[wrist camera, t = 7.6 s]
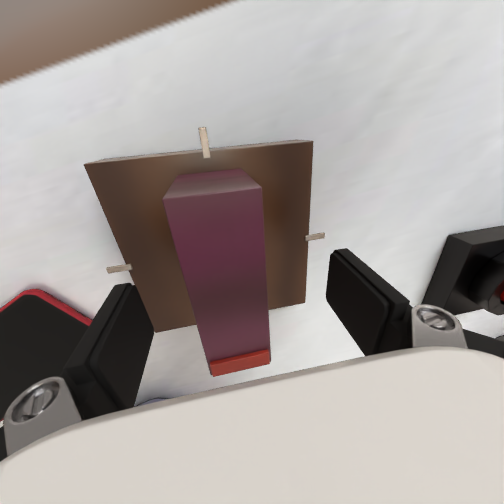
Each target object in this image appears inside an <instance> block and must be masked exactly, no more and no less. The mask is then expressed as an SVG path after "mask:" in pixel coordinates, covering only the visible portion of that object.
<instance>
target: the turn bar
mask: <svg viewBox="0 0 504 504" xmlns="http://www.w3.org/2000/svg"><path fill="white" fill-rule="evenodd" d="M162 202H163V206H164V209H165V213H166V216H167V220H168V224H169V227H170V231H171V234H172V238H173V241H174V245H175V249H176V252H177V256H178V259H179V263H180V267H181V270H182V274H183V277H184V281H185V284H186V288H187V292H188V295H189V299H190V302H191V306H192V309H193V313H194V317H195V320H196V324H197V327H198V331H199V335H200V338H201V342H202V345H203V349H204V352H205V356H206V360H207V363H208V367H209V370H210V374H211V375H213V377H215V376H219V375H224V374H228V373H232V372H237V371H241V370H245V369H249V368H254V367H258V366H262V365H267V364H270V362H271V350H270V331H269V313H268V294H267V275H266V256H265V238H264V219H263V200H262V187H261V186H260V185H259V184H258V183H256V182H255V181H254V180H253V179H252V178H251V177H250V176H249V175H248V174H247V173H246V172H244V171H243V170H242V169H241V168H240V169H231V170H222V171H212V172H203V173H194V174H185V175H178V176H177V177H176V178H175V180H174V182H173V183H172V185H171V186H170V188H169V189H168V191H167V192H166V194H165V196H164V197H163V199H162Z"/></svg>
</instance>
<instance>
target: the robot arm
mask: <svg viewBox="0 0 504 504" xmlns="http://www.w3.org/2000/svg"><path fill="white" fill-rule="evenodd" d="M326 299H327V302H328V303H329V305H330V306H331V308H332V309H333V311H334V312H335V313H336V315H337V316H338V318H339V319H340V321H341V322H342V323H343V325H344V326H345V328H346V329H347V331H348V332H349V333H350V335H351V336H352V338H353V339H354V341H355V342H356V343H357V345H358V346H359V348H360V349H361V351H362V352H363V353H364V355H365V357H360V358H355V359H350V360H346V361H341V362H336V363H332V364H327V365H322V366H317V367H313V368H308V369H303V370H299V371H294V372H290V373H285V374H280V375H276V376H271V377H267V378H262V379H257V380H253V381H248V382H244V383H239V384H235V385H230V386H225V387H221V388H216V389H212V390H208V391H203V392H199V393H194V394H190V395H185V396H181V397H176V398H172V399H167V400H163V401H158V402H154V403H150V404H146V405H142V406H138V407H134V404H135V400H136V397H137V393H138V389H139V386H140V382H141V379H142V375H143V371H144V368H145V364H146V361H147V357H148V353H149V350H150V346H151V343H152V339H153V335H154V327H153V325H152V322H151V320H150V318H149V315H148V313H147V311H146V308H145V306H144V304H143V301H142V299H141V296H140V294H139V292H138V289H137V287H136V286H135V285H132V284H131V283H125V284H118V285H115V286H114V287H113V289H112V290H111V292H110V294H109V295H108V297H107V298H106V300H105V302H104V303H103V305H102V306H101V308H100V310H99V311H98V313H97V314H96V316H95V318H94V319H93V321H92V322H91V324H90V326H89V327H88V329H87V330H86V332H85V334H84V335H83V337H82V338H81V340H80V342H79V343H78V345H77V346H76V348H75V350H74V351H73V353H72V354H71V356H70V358H69V359H68V361H67V362H66V364H65V366H64V367H63V371H62V373H61V374H60V376H59V377H49V378H47V379H44V380H41V381H39V382H37V383H36V384H34V385H32V386H31V387H29V388H28V389H27V390H25V391H24V392H23V393H21V394H20V395H19V396H18V397H17V398H16V399H15V400H14V401H13V403H12V404H11V405H10V406H9V408H8V410H7V411H6V413H5V415H4V421H3V425H4V426H2V427H1V428H0V504H504V341H501V340H497V339H494V338H491V337H488V336H485V335H481V334H478V333H475V332H472V331H468V330H465V329H462V326H461V324H460V322H459V320H458V319H457V318H456V317H455V316H454V315H452V314H451V313H449V312H448V311H446V310H444V309H442V308H439V307H436V306H432V305H417V306H415V307H412V306H411V305H409V302H410V301H409V300H408V299H407V298H406V297H404V296H403V295H402V294H401V293H400V292H398V291H397V290H396V289H395V288H394V287H392V286H391V285H390V284H389V283H388V282H386V281H385V280H384V279H383V278H382V277H381V276H379V275H378V274H377V273H376V272H375V271H373V270H372V269H371V268H370V267H369V266H367V265H366V264H365V263H364V262H363V261H361V260H360V259H359V258H358V257H357V256H355V255H354V254H353V253H352V252H351V251H350V250H348V249H347V248H345V249H338V250H334V252H333V253H332V254H331V255H330V262H329V271H328V280H327V289H326Z"/></svg>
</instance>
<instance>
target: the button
mask: <svg viewBox="0 0 504 504" xmlns="http://www.w3.org/2000/svg"><path fill="white" fill-rule="evenodd" d="M500 300H502V301H503V302H504V291H503V292H502V294H501V295H500Z"/></svg>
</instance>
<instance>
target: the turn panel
mask: <svg viewBox="0 0 504 504" xmlns="http://www.w3.org/2000/svg"><path fill="white" fill-rule="evenodd" d="M199 134H200V140H201V146H202V149H200V150H190V151H180V152H170V153H160V154H150V155H140V156H130V157H120V158H110V159H102V160H98V161H94V162H90V163H86V164H84V166H85V169H86V171H87V173H88V176H89V178H90V180H91V183H92V185H93V188H94V190H95V192H96V195H97V197H98V199H99V202H100V204H101V206H102V209H103V211H104V213H105V216H106V218H107V220H108V223H109V225H110V227H111V230H112V232H113V235H114V237H115V239H116V242H117V244H118V246H119V249H120V251H121V253H122V256H123V258H124V260H125V263H126V264H125V265H119V266H113V267H107V268H106V270H107V272H108V273H114V272H120V271H126V270H129V272H130V274H131V277H132V279H133V282H134V284H135V286H136V287H137V289H138V292H139V294H140V296H141V299H142V301H143V304H144V306H145V308H146V311H147V313H148V315H149V318H150V320H151V322H152V325H153V327H154V331H155V333H157V332H162V331H167V330H172V329H177V328H182V327H187V326H192V325H197V324H196V320H195V317H194V313H193V309H192V306H191V302H190V299H189V295H188V292H187V288H186V284H185V281H184V277H183V274H182V270H181V267H180V263H179V259H178V256H177V252H176V249H175V245H174V241H173V238H172V234H171V231H170V227H169V224H168V220H167V216H166V213H165V209H164V206H163V202H162V199H163V197H164V196H165V194H166V192H167V191H168V189H169V188H170V186H171V185H172V183H173V182H174V180H175V178H176V177H177V176H178V175H185V174H194V173H203V172H212V171H222V170H231V169H240V168H241V169H242V170H243V171H244V172H246V173H247V174H248V175H249V176H250V177H251V178H252V179H253V180H254V181H255V182H256V183H258V184H259V185H260V186H261V187H262V200H263V219H264V238H265V256H266V275H267V294H268V310H271V309H276V308H281V307H286V306H291V305H296V304H301V303H305V296H306V277H307V257H308V241H309V240H315V239H322V238H324V237H325V233H318V234H312V235H309V217H310V197H311V177H312V157H313V141H309V140H289V141H280V142H270V143H260V144H250V145H240V146H230V147H220V148H210V149H209V144H208V138H207V132H206V127H202V128H199Z"/></svg>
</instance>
